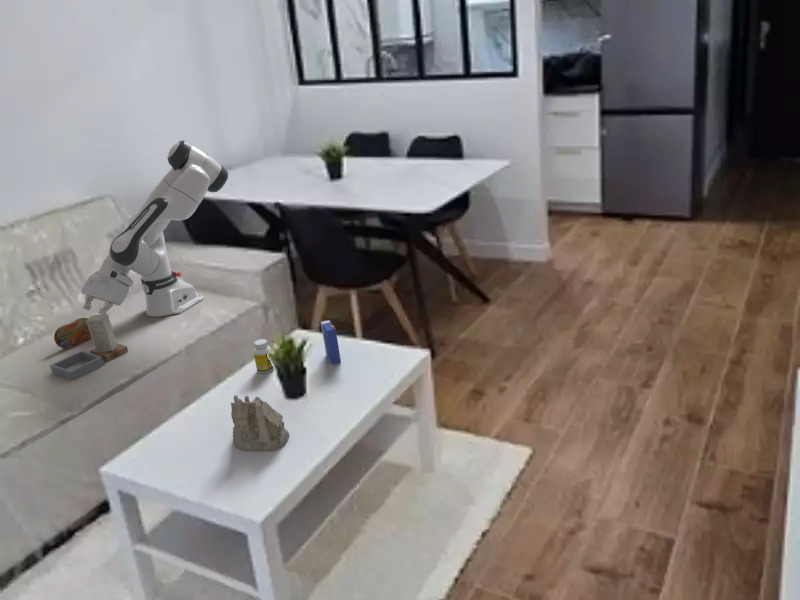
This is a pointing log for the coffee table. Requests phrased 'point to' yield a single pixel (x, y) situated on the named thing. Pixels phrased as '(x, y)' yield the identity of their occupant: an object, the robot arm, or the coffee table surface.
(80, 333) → the tin
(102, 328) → the skincare box
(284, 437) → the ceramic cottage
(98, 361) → the bin
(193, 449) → the coffee table surface
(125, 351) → the riser
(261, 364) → the supplement bottle
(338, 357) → the walkman
